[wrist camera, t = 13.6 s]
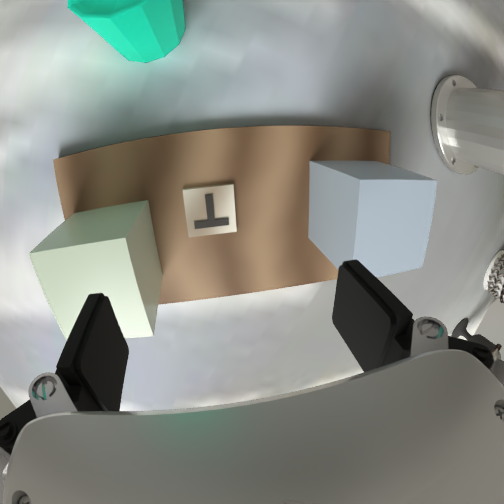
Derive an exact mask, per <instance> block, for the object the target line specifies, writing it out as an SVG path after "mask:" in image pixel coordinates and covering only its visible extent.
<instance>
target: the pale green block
mask: <svg viewBox="0 0 504 504" xmlns="http://www.w3.org/2000/svg"><path fill="white" fill-rule="evenodd" d="M29 255H30V258H31V261H32V264H33V266H34V269H35V272H36V274H37V277H38V280H39V282H40V285H41V287H42V290H43V292H44V294H45V297H46V299H47V301H48V304H49V306H50V308H51V310H52V312H53V315H54V317H55V319H56V321H57V323H58V325H59V327H60V329H61V331H62V333H63V335H64V337H65V339H66V340H67V339H68V337H69V335H70V333H71V330H72V328H73V326H74V324H75V322H76V319H77V317H78V315H79V313H80V311H81V309H82V307H83V305H84V303H85V301H86V299H87V297H88V295H89V294H95V293H103V294H104V295H105V296H108V298H109V300H110V302H111V305H112V308H113V311H114V313H115V316H116V318H117V321H118V324H119V326H120V329H121V331H122V333H123V336H124V338H135V337H148V336H154V329H155V322H156V315H157V308H158V302H159V295H160V289H161V284H162V278H163V274H162V270H161V265H160V261H159V256H158V251H157V246H156V241H155V236H154V231H153V225H152V219H151V214H150V208H149V201H148V200H145V201H139V202H133V203H127V204H121V205H115V206H109V207H104V208H98V209H93V210H88V211H83V212H78V213H74V214H72V215H71V216H70V217H69V218H68V219H66V220H65V221H64V222H63V223H62V224H61V225H59V226H58V227H57V228H56V229H55V230H54V231H53V232H52V233H50V234H49V235H48V236H47V237H46V238H45V239H44V240H43V241H42V242H41V243H40V244H38V245H37V246H36V247H35V248H34V249H33V250H32V251H31V252H30V253H29Z"/></svg>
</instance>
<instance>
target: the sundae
mask: <svg viewBox="0 0 504 504" xmlns="http://www.w3.org/2000/svg"><path fill="white" fill-rule="evenodd" d="M467 325H468V319H467V318H466V319H463V320H462V321H461V322H460V323H459V324H458V325H457V326H456V328H455V329H454V331H453V333H452V337H455V338H457V337H459V336H460V335H462V336H464V337H465V338H466V339H467V340H468V341H471V342H475V343H479V344H482V345H484V346H486V347H487V348H488V349H489V350H490V351H491V353H492V354H493V358H494V360H496V358H498V359H500V360H501V357H500V352H499V350H500V348H501V345H500V344H497V345H495V344H493V343H492V342H490V341H489V340H487V339H486V338H485V337H483V336H481V335H479V334H478V335H473V336H471V335H470V334H469V333H468V332H467V330H466V327H467Z"/></svg>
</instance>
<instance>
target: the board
mask: <svg viewBox="0 0 504 504" xmlns="http://www.w3.org/2000/svg"><path fill="white" fill-rule="evenodd" d="M389 157H390V131H383V130H373V129H362V128H349V127H331V126H252V127H235V128H221V129H210V130H200V131H191V132H183V133H175V134H168V135H161V136H155V137H149V138H143V139H137V140H132V141H127V142H122V143H117V144H112V145H108V146H103V147H99V148H95V149H91V150H87V151H83V152H79V153H75V154H72V155H68V156H65V157H61V158H58V159H55V160H53V162H54V168H55V174H56V180H57V186H58V191H59V196H60V201H61V205H62V210H63V214H64V218H65V220H66V219H68V218H69V217H70V216H71V215H72V214H74V213H78V212H83V211H88V210H93V209H98V208H104V207H109V206H115V205H121V204H127V203H133V202H139V201H145V200H148V201H149V208H150V214H151V219H152V225H153V231H154V236H155V241H156V246H157V251H158V256H159V261H160V265H161V270H162V274H163V278H162V284H161V289H160V295H159V302H158V304H167V303H176V302H184V301H193V300H201V299H209V298H216V297H224V296H231V295H238V294H246V293H252V292H259V291H266V290H273V289H279V288H285V287H292V286H298V285H304V284H310V283H316V282H322V281H327V280H333V279H337V278H338V269H337V268H336V267H335V266H334V265H333V264H332V263H331V262H330V261H329V259H328V258H327V257H326V256H325V255H324V254H323V253H322V252H321V251H320V250H319V249H318V247H317V246H316V245H315V244H314V243H313V242H312V241H311V240H310V239H309V238H308V232H309V182H310V161H333V160H342V161H378V162H382V163H385V164H389Z"/></svg>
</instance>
